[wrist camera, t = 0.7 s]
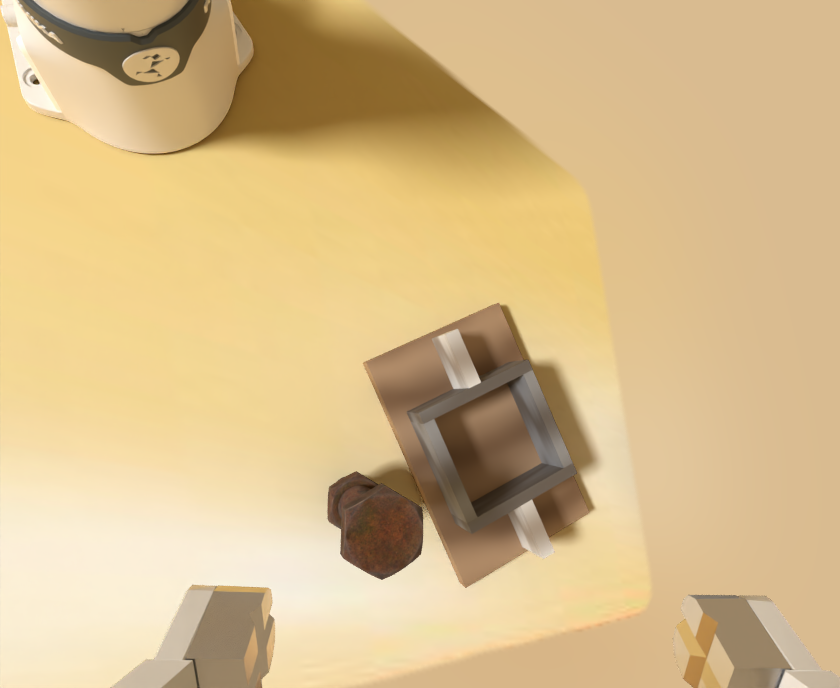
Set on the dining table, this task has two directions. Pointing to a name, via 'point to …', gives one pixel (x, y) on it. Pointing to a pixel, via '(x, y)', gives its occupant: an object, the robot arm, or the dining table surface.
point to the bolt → (375, 525)
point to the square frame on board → (479, 442)
